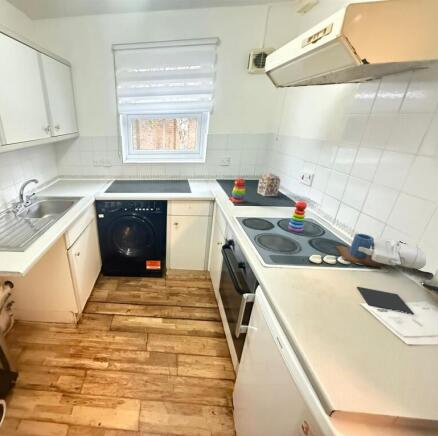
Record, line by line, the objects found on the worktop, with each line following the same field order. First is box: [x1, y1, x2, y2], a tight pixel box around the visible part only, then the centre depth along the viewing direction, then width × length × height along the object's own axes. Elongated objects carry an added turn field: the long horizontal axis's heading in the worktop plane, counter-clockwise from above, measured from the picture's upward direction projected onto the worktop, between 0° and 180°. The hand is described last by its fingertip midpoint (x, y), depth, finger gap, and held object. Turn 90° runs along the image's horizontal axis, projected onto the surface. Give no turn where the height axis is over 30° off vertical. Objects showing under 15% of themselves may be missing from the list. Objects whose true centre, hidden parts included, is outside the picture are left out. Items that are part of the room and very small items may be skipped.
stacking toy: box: [287, 200, 308, 233], centre depth 130 cm, size 8×8×19 cm
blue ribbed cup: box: [349, 233, 374, 258], centre depth 105 cm, size 6×6×9 cm
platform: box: [334, 244, 383, 268], centre depth 107 cm, size 13×13×7 cm
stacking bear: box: [228, 177, 246, 204], centre depth 182 cm, size 11×10×18 cm
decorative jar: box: [256, 172, 281, 198], centre depth 197 cm, size 12×12×18 cm
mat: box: [356, 286, 415, 315], centre depth 84 cm, size 12×10×1 cm
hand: (358, 244), depth 105 cm, fingers open, 8 cm apart
